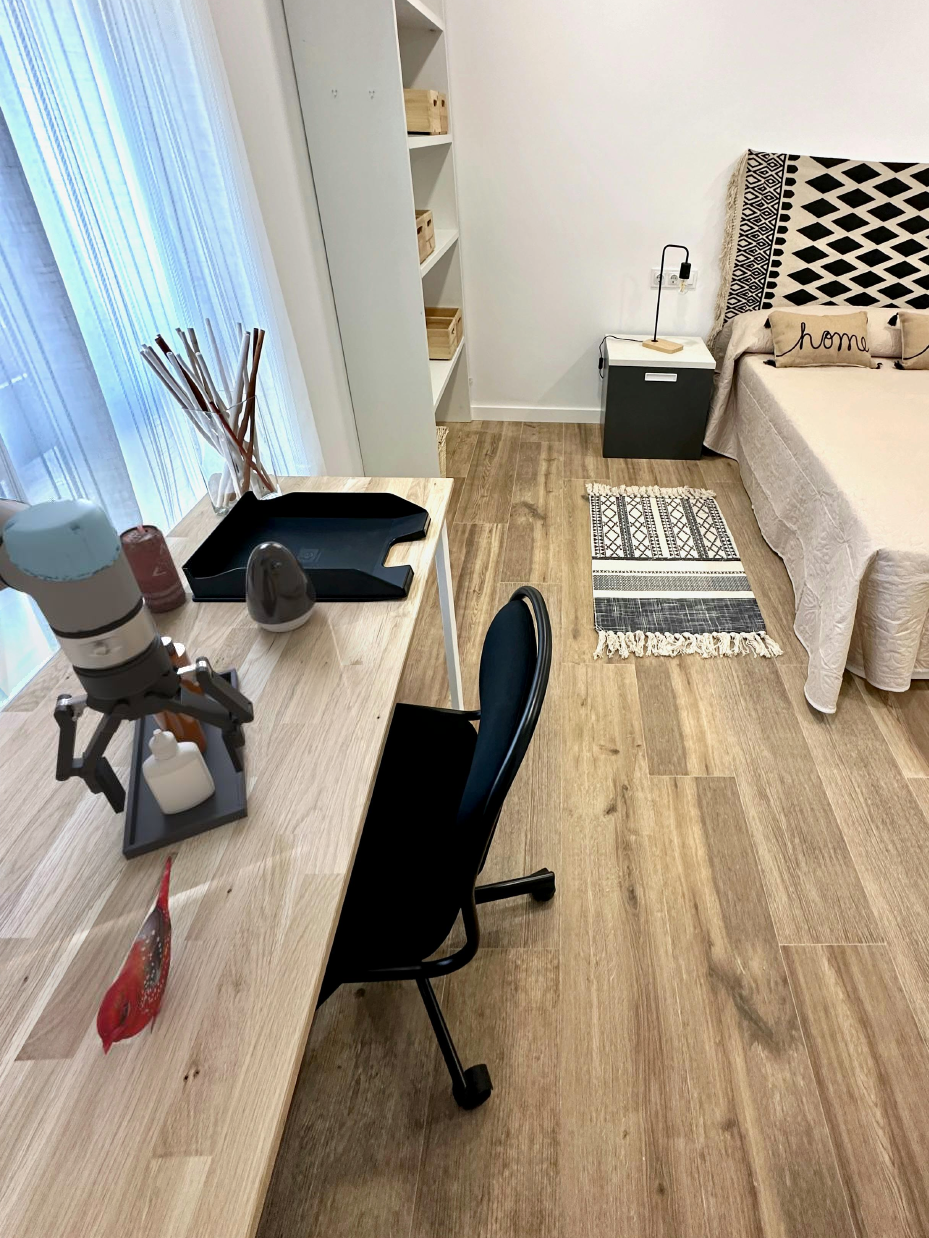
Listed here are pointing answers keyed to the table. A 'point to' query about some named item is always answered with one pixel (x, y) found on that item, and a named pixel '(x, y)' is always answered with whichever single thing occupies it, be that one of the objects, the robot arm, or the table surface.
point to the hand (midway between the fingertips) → (182, 782)
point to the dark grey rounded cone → (278, 588)
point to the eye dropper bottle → (176, 773)
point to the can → (153, 567)
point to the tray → (224, 806)
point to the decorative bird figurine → (140, 976)
